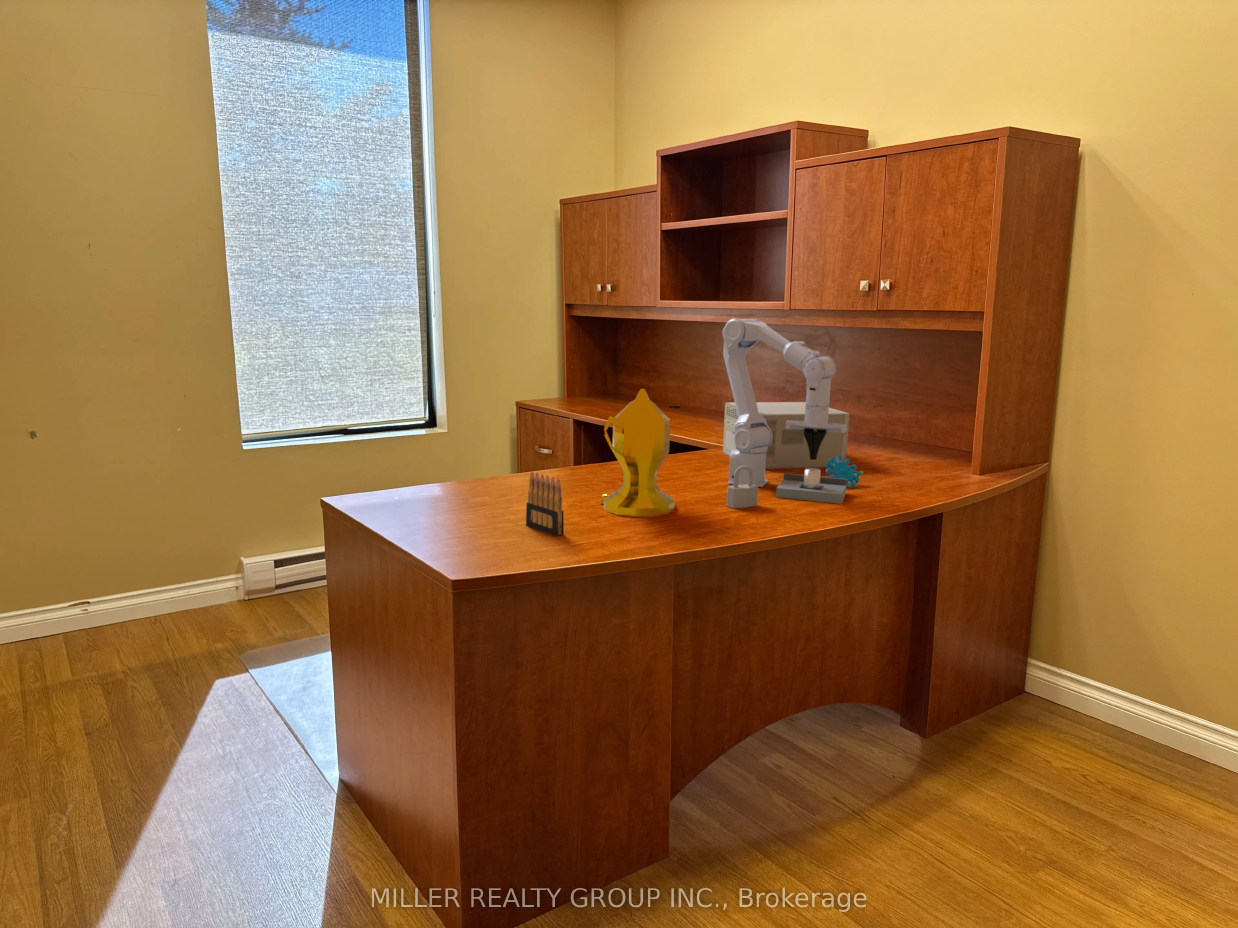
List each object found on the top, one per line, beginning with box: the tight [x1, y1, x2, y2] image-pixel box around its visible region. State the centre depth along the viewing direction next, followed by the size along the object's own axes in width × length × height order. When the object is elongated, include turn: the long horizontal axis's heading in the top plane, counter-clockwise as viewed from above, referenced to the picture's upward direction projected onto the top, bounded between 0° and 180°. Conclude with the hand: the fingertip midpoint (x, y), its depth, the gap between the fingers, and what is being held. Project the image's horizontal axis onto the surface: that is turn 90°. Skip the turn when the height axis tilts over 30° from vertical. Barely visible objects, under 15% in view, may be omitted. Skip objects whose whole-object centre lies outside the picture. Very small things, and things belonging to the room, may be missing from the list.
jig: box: [775, 472, 847, 505], centre depth 217 cm, size 16×12×4 cm
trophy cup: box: [598, 388, 676, 518], centre depth 198 cm, size 18×24×28 cm
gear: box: [825, 456, 864, 490], centre depth 231 cm, size 11×6×10 cm
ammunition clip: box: [525, 470, 565, 537], centre depth 179 cm, size 11×2×12 cm, turn 43°
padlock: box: [726, 465, 759, 509], centre depth 204 cm, size 7×4×10 cm, turn 118°
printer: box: [722, 401, 850, 470], centre depth 263 cm, size 27×29×16 cm
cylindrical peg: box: [803, 468, 822, 490], centre depth 216 cm, size 4×4×7 cm
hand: (813, 459), depth 215 cm, fingers closed
